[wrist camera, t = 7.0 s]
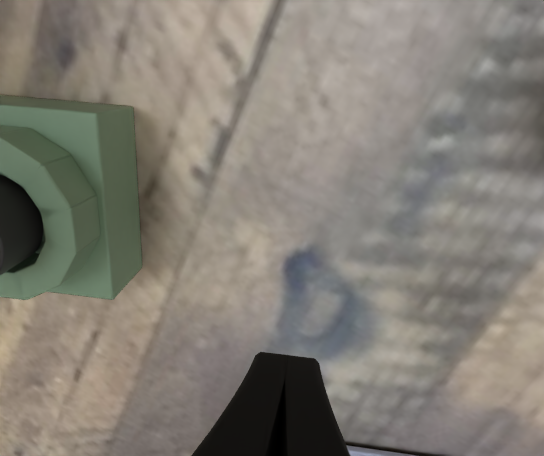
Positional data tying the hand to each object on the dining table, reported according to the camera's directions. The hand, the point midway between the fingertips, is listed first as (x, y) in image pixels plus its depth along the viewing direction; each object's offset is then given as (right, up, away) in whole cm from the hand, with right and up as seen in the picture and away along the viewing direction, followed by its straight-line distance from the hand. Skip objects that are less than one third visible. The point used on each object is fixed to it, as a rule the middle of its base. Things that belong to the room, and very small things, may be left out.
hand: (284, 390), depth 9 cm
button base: (-10, +6, +10) cm, 15 cm away
